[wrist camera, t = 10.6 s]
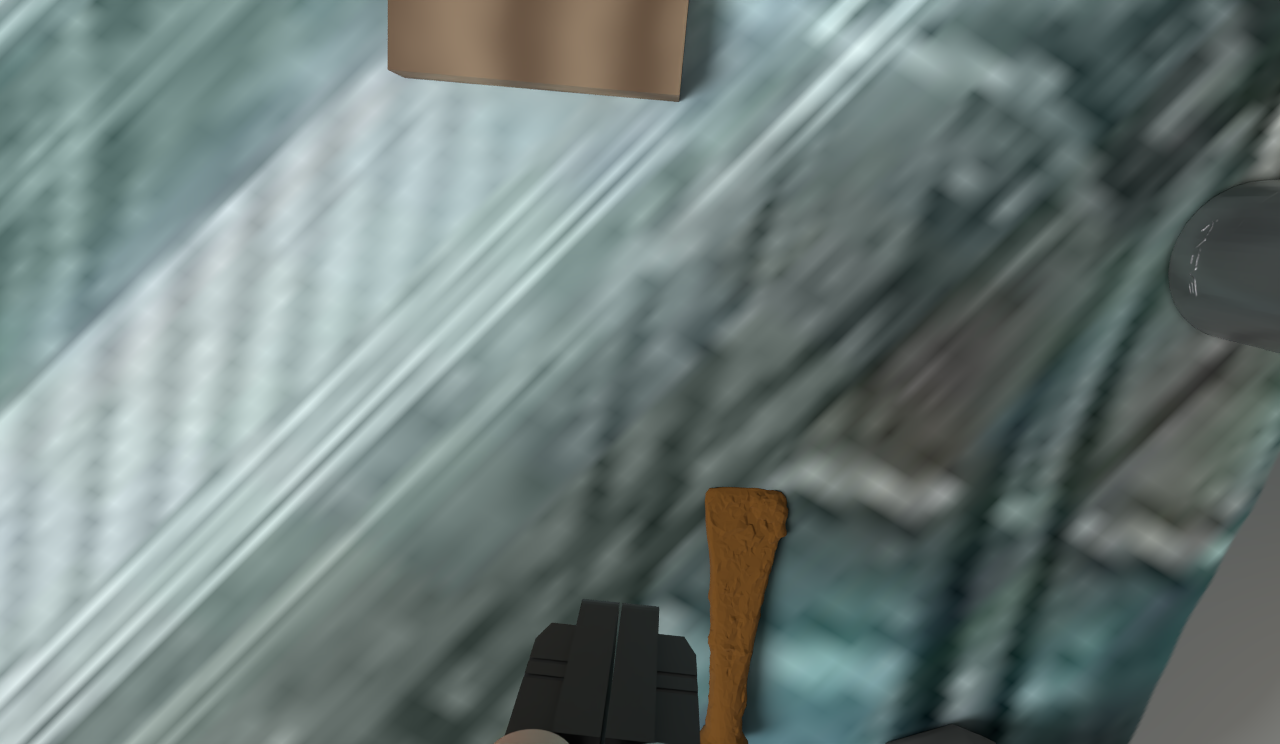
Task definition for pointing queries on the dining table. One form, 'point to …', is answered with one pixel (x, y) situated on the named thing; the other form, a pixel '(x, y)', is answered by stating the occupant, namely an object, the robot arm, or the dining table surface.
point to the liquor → (945, 737)
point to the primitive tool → (737, 596)
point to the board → (543, 44)
